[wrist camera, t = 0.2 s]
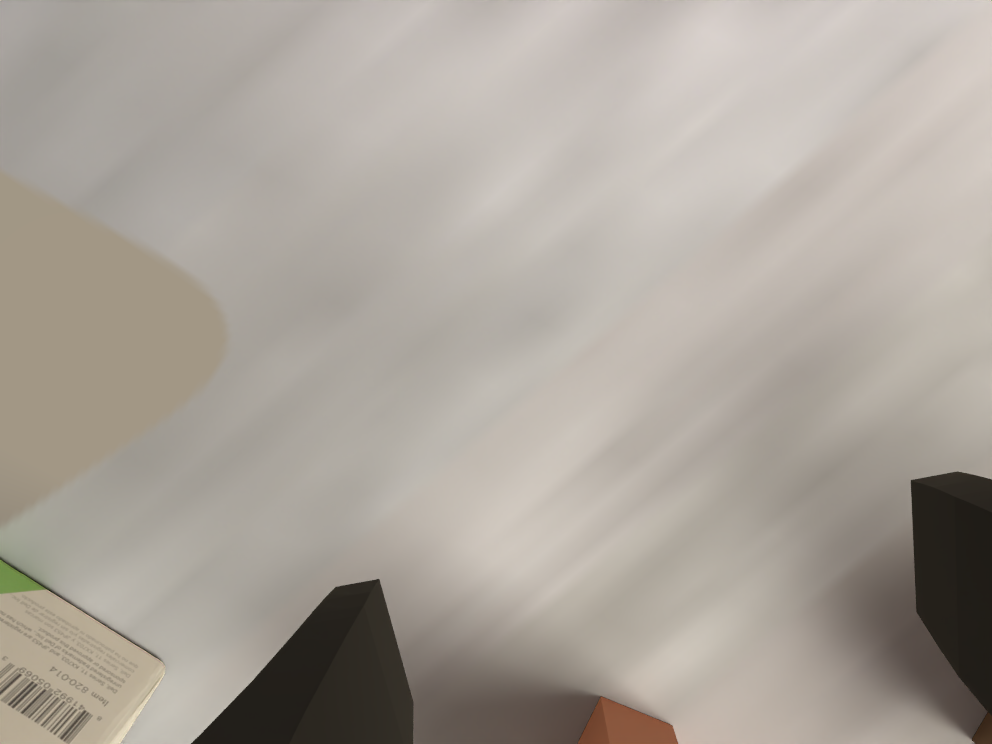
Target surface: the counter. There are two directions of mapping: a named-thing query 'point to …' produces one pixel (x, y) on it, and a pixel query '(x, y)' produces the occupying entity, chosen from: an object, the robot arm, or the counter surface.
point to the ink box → (65, 670)
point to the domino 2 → (984, 731)
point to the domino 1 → (624, 726)
